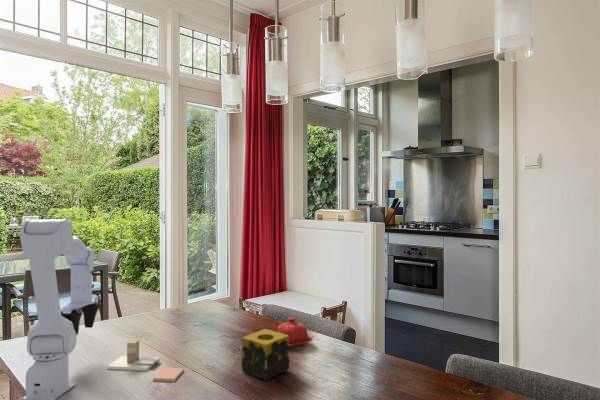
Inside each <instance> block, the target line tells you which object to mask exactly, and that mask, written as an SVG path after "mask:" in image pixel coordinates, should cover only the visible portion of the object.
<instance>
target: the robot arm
mask: <svg viewBox="0 0 600 400" xmlns="http://www.w3.org/2000/svg"><path fill="white" fill-rule="evenodd" d="M19 238H20V244H21V250H22V254H23V256H25V257H26V258H28V261H29V268H30V274H31V280H32V286H33V287H32V288H33V293H34V300H35V308H36V315H37V320H38V321H36V322H35V323H34V324H32V325H31V326H30V327H29V329H28V332H27V340H26V341H27V342H26V351H27V353H28V355H29V356H30V357H32V360H33V361H34V363H33V364H32V365H31V366H30V367H29V368H28V369H27V371H26V372H25V373H26V374H25V396H23V397H22V400H56V399H57V398H59V397H61V396H62V395H63V394H64V393H66V392H68V391H69V390H70V389H72V388H74V387H75V386H76V385H77V382H76V381H75V382H74V381H70V380H69V379H70V378H69V376H70V374H69V369H70V368H69V367H70V366H69V364H70V363H69V359H70V358H69V355H70V354H72V352H73V351H74V350H75V348H76V345H77V336H78V334H79V329H80V321H81V318H82V315H83V324H84V327H85V328H88V329H89V328H90V329H91V328H93V327H94V323H95V319H96V316H97V314H98V311H99V309H100V307H101V302H99V295H93V271H94V267H95V265H94V263H95V258H96V254H95V249H94V248H92V247H91V246H86V244H85V243H84V242H83V241H82V240H81V238H79V237H78V235H75V236H73V225H72V223H71V221H70V220H69V219H68V218H61V219H60V218H59V219H32V218H28V219H25V221H24V222H23V223H22V225H21V228H20V231H19ZM61 255H64V256H65V259H66V261H67V265H68V266H69V267H70V301H69V302H68V303H67V304H66V305H65V306H62V310H61V303H60V295H59V287H58V280H57V273H56V267H55V266H56V265H55V259H56V258H57V257H60V256H61ZM79 309H81V311H82V312H81V311H78V310H79Z"/></svg>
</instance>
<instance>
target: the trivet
mask: <svg viewBox="0 0 600 400" xmlns="http://www.w3.org/2000/svg"><path fill="white" fill-rule="evenodd" d="M140 357H141V356H139V358H140ZM153 366H154V365H133V363H127V355H121V356H119V357H118V358H116V359H115V360H114V361H113V362H111V363H109V364H108V365H107V366H106V369H107V370H114V369H115V370H116V371H117V370H118V371H119V370H121V371H139V372H140V371H144V372H145V371H149V370H150V369H151V368H152V367H153Z"/></svg>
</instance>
